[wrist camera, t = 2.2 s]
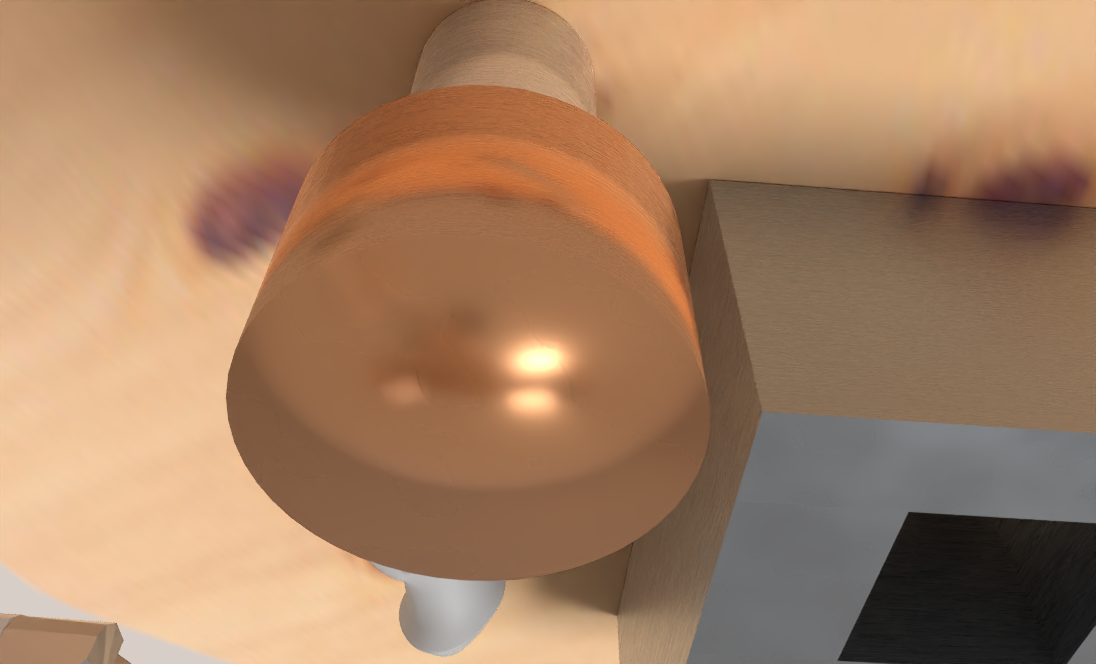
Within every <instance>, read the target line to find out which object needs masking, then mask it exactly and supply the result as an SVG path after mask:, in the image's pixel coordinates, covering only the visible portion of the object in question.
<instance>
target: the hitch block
mask: <svg viewBox="0 0 1096 664" xmlns="http://www.w3.org/2000/svg"><path fill="white" fill-rule="evenodd" d="M689 285H690V291H691V297H692V303H693V309H694V314H695V320H696V326H697V332H698V338H699V344H700V350H701V356H702V362H703V368H704V374H705V380H706V386H707V392H708V398H709V404H710V432H709V438H708V444H707V450H706V453H705V456H704V459H703V461H702V464H701V467H700V470H699V472H698V474H697V476H696V477H695V479H694V481H693V483H692V485H691V486H690V488H689V490H688V491H687V493H686V494H685V495H684V496H683V498H682V499H681V500H680V502H679V503H678V504H677V505H676V507H675V508H674V509H673V510H672V511H671V512H670V513H669V514H668V515H667V516H666V517H665V518H664V519H663V520H662V521H661V522H660V523H658V524H657V525H656V526H655V527H653V528H652V529H651V530H649V531H648V532H647V533H645V534H644V535H643V536H641V537H640V538H639V539H637V540H635V541H634V542H633V545H632V550H631V555H630V559H629V564H628V569H627V574H626V578H625V583H624V588H623V593H622V597H621V602H620V607H619V612H618V616H617V620H618V640H619V660H620V664H1096V208H1082V207H1069V206H1055V205H1042V204H1029V203H1015V202H1002V201H988V200H975V199H962V198H948V197H935V196H921V195H908V194H895V193H881V192H868V191H854V190H841V189H828V188H814V187H801V186H788V185H774V184H761V183H747V182H734V181H721V180H709V184H708V189H707V194H706V199H705V203H704V208H703V213H702V218H701V222H700V227H699V232H698V237H697V241H696V246H695V251H694V256H693V260H692V265H691V270H690V275H689Z"/></svg>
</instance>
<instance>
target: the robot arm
mask: <svg viewBox="0 0 1096 664" xmlns="http://www.w3.org/2000/svg"><path fill="white" fill-rule="evenodd" d="M122 643H123V638H122V635H121V633H120V630H119V628H118V625H117V623H111V622H97V621H84V620H70V619H56V618H43V617H30V616H24V615H16V614H0V664H131V663H130V662H128V661H127V660H125V659H124V658H123V657H121V656H120V655H119V654H118V652H119V650H120V647H121V645H122Z"/></svg>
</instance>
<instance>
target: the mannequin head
mask: <svg viewBox="0 0 1096 664" xmlns="http://www.w3.org/2000/svg"><path fill="white" fill-rule="evenodd" d="M370 562H371V561H370ZM371 563H372V564H373V565H374V566H375V567H377V568H378V569H379V570H380V571H382V572H383V573H385V574H386V575H388V576H389V577H391V578H394V579H396V580H400V581H404V583H405V588H406V593H405V595H404V597H403V599H402V602H401V605H400V610H399V621H400V626H401V629H402V631H403V633H404V635H405V637H406V638H407V640H408V641H409V642H410V643H411V644H412V645H413V646H414V647H415V648H417V649H418V650H420V651H423V652H426V653H429V654H433V655H436V656H441V657H446V656H451V655H454V654H456V653H458V652H460V651H461V650H463V649H464V648H465V647H466V646H467V645H468V644H469V643H471V641H472V640H473V639H474V638H475V637H476V636H477V635H478V634H479V633H480V632H481V630H482V629H483V628H484V627H485V625H486V624H487V623H488V621H489V620H490V619H491V617H492V616H493V614H494V613H495V611H496V610H497V608H498V606H499V604H500V602H501V600H502V597H503V594H504V590H505V583H506V580H499V581H465V580H454V579H444V578H435V577H430V576H424V575H418V574H413V573H408V572H405V571H401V570H397V569H393V568H389V567H386V566H382V565H380V564H377V563H374V562H371Z"/></svg>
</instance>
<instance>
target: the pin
mask: <svg viewBox="0 0 1096 664" xmlns="http://www.w3.org/2000/svg"><path fill="white" fill-rule="evenodd" d="M226 401H227V412H228V421H229V424H230V428H231V432H232V435H233V439H234V442H235V444H236V447H237V449H238V451H239V453H240V455H241V457H242V460H243V462H244V464H245V465H246V467H247V468H248V470H249V471H250V473H251V474H252V476H253V477H254V479H255V480H256V482H257V483H258V484H259V486H260V487H261V488H262V489H263V490H264V491H265V493H266V494H267V495H268V496H269V497H270V498H271V499H272V501H273V502H274V503H276V504H277V505H278V506H279V507H280V508H281V509H282V510H283V511H284V512H285V513H287V514H288V515H289V516H290V517H291V518H292V519H294V520H295V521H296V522H298V523H299V524H301V525H302V526H303V527H305V528H306V529H307V530H309V531H310V532H312V533H313V534H315V535H317V536H318V537H320V538H322V539H324V540H325V541H327V542H329V543H330V544H332V545H334V546H336V547H338V548H340V549H342V550H345V551H347V552H349V553H351V554H353V555H355V556H358V557H360V558H363V559H366V560H368V561H371V562H374V563H377V564H380V565H382V566H386V567H389V568H393V569H397V570H401V571H405V572H408V573H413V574H418V575H424V576H430V577H435V578H444V579H454V580H465V581H499V580H515V579H523V578H530V577H537V576H544V575H548V574H553V573H557V572H561V571H565V570H570V569H573V568H576V567H579V566H582V565H585V564H588V563H591V562H594V561H596V560H598V559H600V558H603V557H605V556H607V555H609V554H612V553H614V552H616V551H618V550H620V549H622V548H623V547H625V546H627V545H628V544H630V543H632V542H634V541H635V540H637V539H639V538H640V537H641V536H643V535H644V534H645V533H647V532H648V531H649V530H651V529H652V528H653V527H655V526H656V525H657V524H658V523H660V522H661V521H662V520H663V519H664V518H665V517H666V516H667V515H668V514H669V513H670V512H671V511H672V510H673V509H674V508H675V507H676V505H677V504H678V503H679V502H680V500H681V499H682V498H683V496H684V495H685V494H686V493H687V491H688V490H689V488H690V486H691V485H692V483H693V481H694V479H695V477H696V476H697V474H698V472H699V470H700V467H701V464H702V461H703V459H704V456H705V453H706V450H707V444H708V438H709V432H710V404H709V398H708V392H707V386H706V380H705V374H704V368H703V362H702V356H701V350H700V344H699V338H698V332H697V326H696V320H695V314H694V309H693V303H692V297H691V291H690V285H689V279H688V273H687V267H686V261H685V255H684V249H683V243H682V237H681V232H680V227H679V222H678V217H677V214H676V212H675V209H674V206H673V203H672V201H671V198H670V195H669V194H668V192H667V190H666V188H665V186H664V185H663V183H662V181H661V179H660V177H659V176H658V174H657V173H656V171H655V170H654V169H653V168H652V166H651V165H650V164H649V162H648V161H647V160H646V158H645V157H644V156H643V155H642V154H641V153H640V152H639V151H638V150H637V149H636V148H635V147H634V146H633V145H632V144H631V143H630V142H629V141H628V140H627V139H626V138H625V137H624V136H622V135H621V134H620V133H618V132H617V131H616V130H614V129H613V128H612V127H610V126H609V125H608V124H606V123H605V122H604V121H602V120H600V119H598V118H597V110H596V93H595V78H594V70H593V65H592V61H591V58H590V56H589V53H588V51H587V48H586V47H585V45H584V43H583V41H582V40H581V38H580V37H579V36H578V34H577V33H576V32H575V30H574V29H573V28H572V27H571V26H570V25H569V24H568V23H567V22H566V21H565V20H563V19H562V18H561V17H559V16H558V15H557V14H555V13H554V12H552V11H550V10H548V9H547V8H545V7H542V6H540V5H538V4H535V3H532V2H528V1H525V0H482V1H478V2H474V3H472V4H469V5H467V6H464V7H462V8H461V9H459V10H457V11H455V12H453V13H452V14H451V15H449V16H448V17H447V18H446V19H444V20H443V21H442V22H441V23H440V24H439V25H438V26H437V27H436V28H435V30H434V31H433V33H432V34H431V35H430V37H429V38H428V40H427V42H426V44H425V46H424V48H423V51H422V54H421V56H420V60H419V63H418V67H417V71H416V74H415V78H414V82H413V85H412V89H411V92H410V95H408V96H406V97H403V98H400V99H398V100H395V101H392V102H390V103H387V104H385V105H383V106H381V107H379V108H377V109H375V110H374V111H372V112H370V113H368V114H366V115H364V116H363V117H361V118H360V119H358V120H357V121H356V122H354V123H353V124H352V125H350V126H349V127H348V128H346V129H345V130H344V131H342V132H341V133H340V134H339V135H338V136H337V137H336V138H335V139H334V140H333V141H332V142H331V143H330V144H329V145H328V146H327V147H326V148H325V149H324V150H323V152H322V153H321V155H320V156H319V157H318V159H317V160H316V162H315V163H314V164H313V166H312V167H311V169H310V171H309V173H308V175H307V177H306V179H305V181H304V183H303V185H302V187H301V189H300V191H299V193H298V196H297V198H296V201H295V203H294V206H293V208H292V211H291V213H290V216H289V218H288V221H287V223H286V226H285V228H284V231H283V233H282V236H281V238H280V241H279V243H278V246H277V248H276V250H275V253H274V255H273V258H272V260H271V263H270V265H269V268H268V270H267V273H266V275H265V278H264V280H263V283H262V285H261V288H260V290H259V293H258V295H257V298H256V300H255V303H254V305H253V308H252V310H251V313H250V315H249V318H248V320H247V322H246V325H245V327H244V330H243V332H242V335H241V337H240V340H239V342H238V345H237V347H236V350H235V353H234V356H233V360H232V363H231V366H230V370H229V373H228V382H227V393H226Z"/></svg>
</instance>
